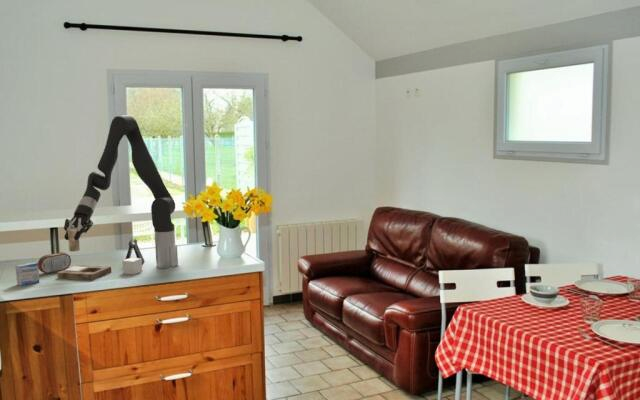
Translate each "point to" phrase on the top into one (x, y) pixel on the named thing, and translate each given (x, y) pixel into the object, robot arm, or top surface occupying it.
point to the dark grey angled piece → (136, 249)
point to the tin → (54, 262)
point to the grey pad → (75, 268)
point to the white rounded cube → (132, 265)
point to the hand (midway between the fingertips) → (70, 239)
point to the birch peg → (73, 240)
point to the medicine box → (27, 273)
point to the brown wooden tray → (85, 272)
